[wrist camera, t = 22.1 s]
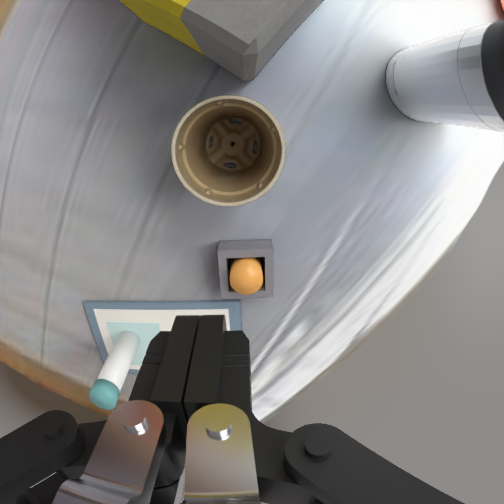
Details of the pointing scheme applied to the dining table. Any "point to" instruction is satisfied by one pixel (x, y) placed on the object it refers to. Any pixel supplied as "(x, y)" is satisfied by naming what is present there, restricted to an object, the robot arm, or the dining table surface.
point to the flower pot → (228, 150)
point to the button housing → (244, 251)
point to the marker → (114, 371)
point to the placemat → (149, 320)
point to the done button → (246, 275)
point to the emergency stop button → (228, 27)
